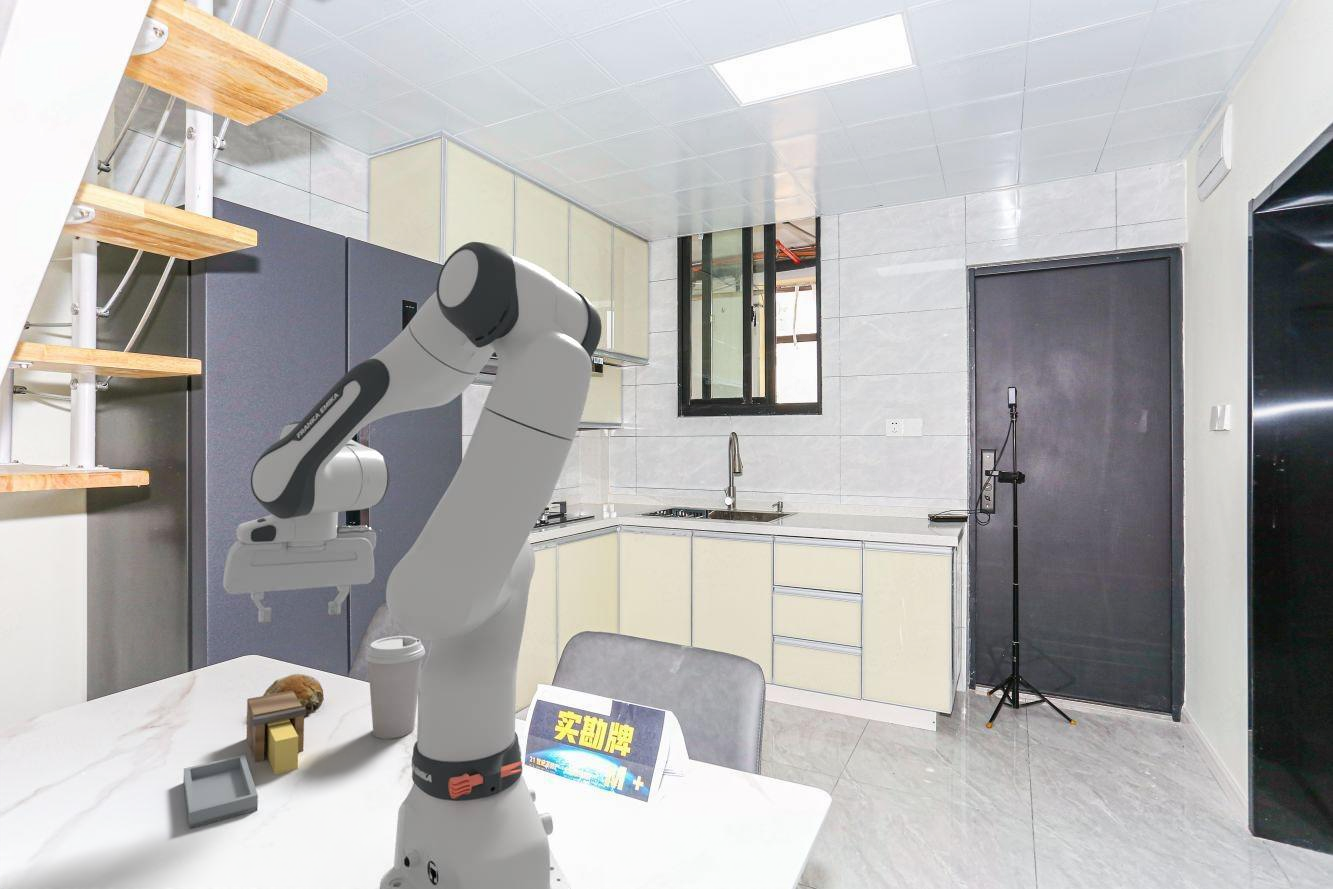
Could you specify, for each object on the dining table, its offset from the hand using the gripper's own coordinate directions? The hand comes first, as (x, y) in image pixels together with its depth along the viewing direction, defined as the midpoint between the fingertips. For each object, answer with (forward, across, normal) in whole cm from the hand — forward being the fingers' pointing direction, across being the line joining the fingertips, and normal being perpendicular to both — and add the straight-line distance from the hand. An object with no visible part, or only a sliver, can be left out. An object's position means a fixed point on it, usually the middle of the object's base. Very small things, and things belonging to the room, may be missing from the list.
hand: (300, 617), depth 103 cm
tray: (+22, +10, +5) cm, 25 cm away
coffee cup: (+22, -16, -3) cm, 27 cm away
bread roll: (+23, -4, -23) cm, 33 cm away
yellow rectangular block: (+22, +1, -2) cm, 23 cm away
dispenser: (+22, +1, -8) cm, 24 cm away
